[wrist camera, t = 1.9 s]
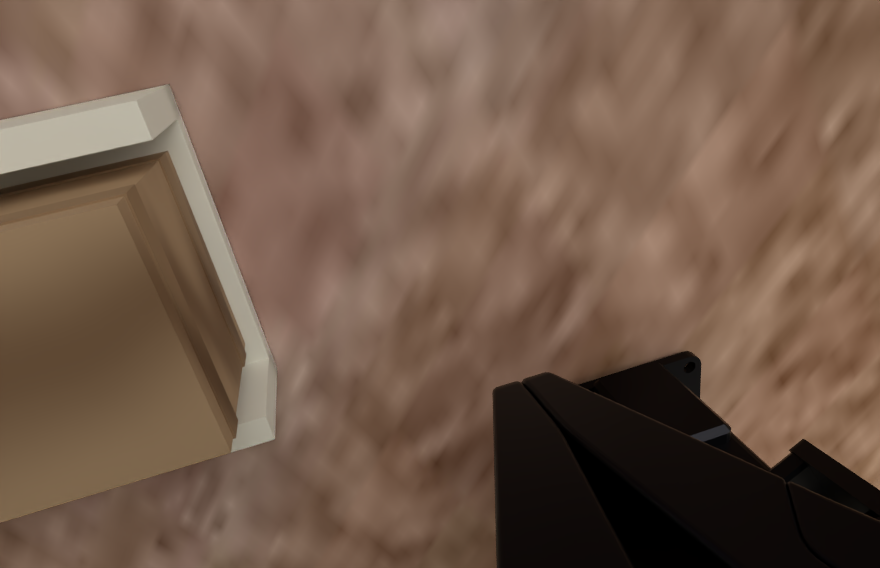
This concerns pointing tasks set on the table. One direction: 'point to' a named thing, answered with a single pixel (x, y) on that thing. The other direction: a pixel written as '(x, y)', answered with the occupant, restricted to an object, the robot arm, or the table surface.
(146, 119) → the bay
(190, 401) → the crate
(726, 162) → the table surface
